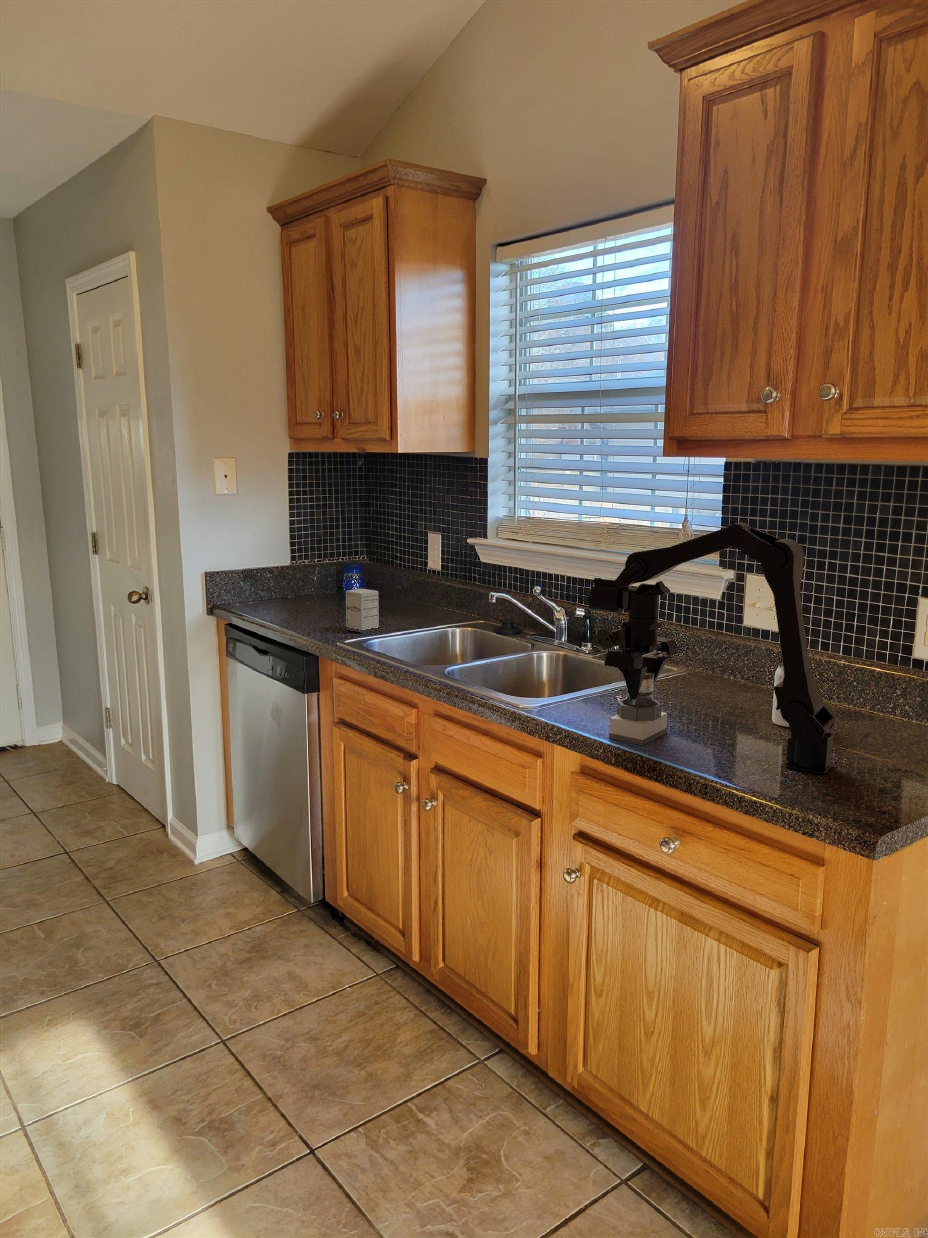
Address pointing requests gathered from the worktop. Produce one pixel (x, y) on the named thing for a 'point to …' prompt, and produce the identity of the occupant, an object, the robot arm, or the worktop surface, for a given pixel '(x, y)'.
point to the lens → (644, 691)
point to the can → (776, 713)
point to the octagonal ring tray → (638, 722)
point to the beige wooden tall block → (362, 609)
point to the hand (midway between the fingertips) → (640, 696)
